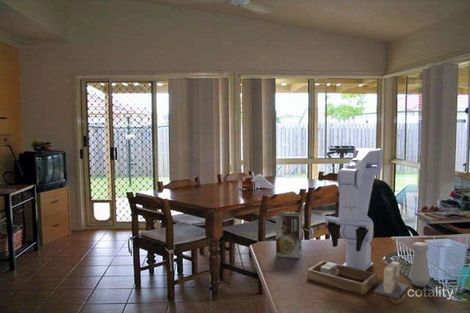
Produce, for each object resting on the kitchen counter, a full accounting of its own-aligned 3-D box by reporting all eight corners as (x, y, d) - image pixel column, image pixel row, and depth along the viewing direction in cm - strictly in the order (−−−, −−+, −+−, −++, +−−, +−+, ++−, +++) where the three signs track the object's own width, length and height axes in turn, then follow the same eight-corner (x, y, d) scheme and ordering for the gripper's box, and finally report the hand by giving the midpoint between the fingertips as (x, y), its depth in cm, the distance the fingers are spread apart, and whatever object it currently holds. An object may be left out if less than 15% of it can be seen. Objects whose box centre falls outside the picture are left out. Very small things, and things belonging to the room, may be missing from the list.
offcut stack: (329, 272, 132) (329, 261, 132) (339, 275, 130) (339, 263, 130) (319, 279, 127) (319, 267, 127) (329, 282, 125) (329, 269, 124)
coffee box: (302, 253, 151) (302, 212, 150) (299, 258, 145) (299, 216, 143) (278, 250, 154) (278, 210, 152) (275, 256, 148) (275, 214, 146)
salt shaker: (420, 289, 118) (421, 247, 117) (404, 282, 123) (406, 242, 122) (433, 285, 121) (435, 244, 119) (418, 278, 126) (419, 239, 124)
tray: (322, 268, 135) (322, 260, 135) (376, 282, 123) (376, 273, 123) (307, 278, 127) (307, 269, 126) (363, 294, 115) (363, 284, 115)
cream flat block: (392, 283, 122) (392, 261, 121) (398, 284, 121) (399, 262, 120) (383, 291, 116) (383, 269, 115) (390, 293, 114) (390, 270, 114)
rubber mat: (384, 281, 124) (385, 280, 124) (408, 287, 120) (408, 285, 120) (373, 292, 116) (373, 290, 116) (397, 298, 112) (397, 297, 112)
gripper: (321, 204, 126) (320, 246, 126) (366, 210, 117) (364, 255, 117) (330, 202, 131) (329, 242, 132) (374, 207, 123) (372, 250, 123)
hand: (346, 248), depth 125 cm, fingers open, 7 cm apart
